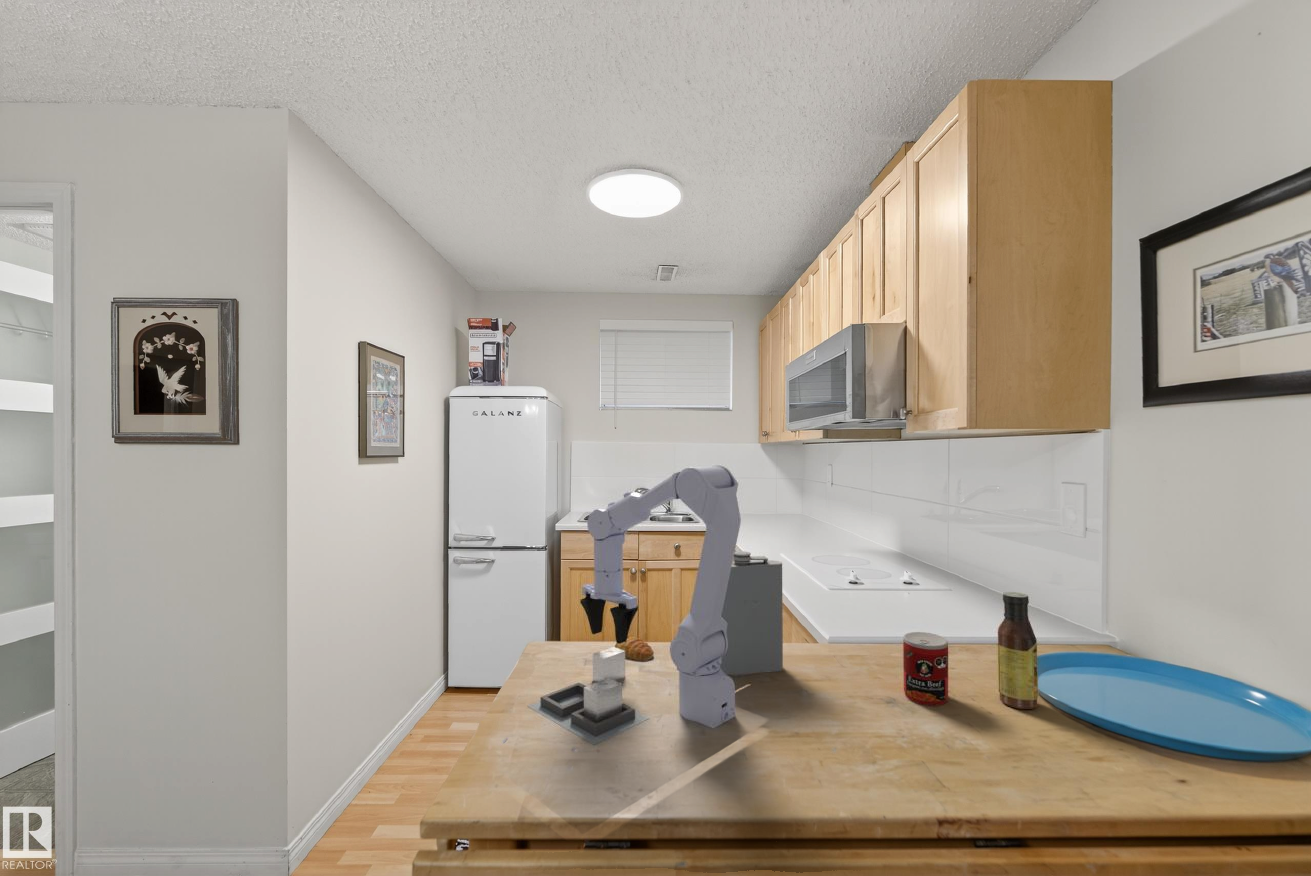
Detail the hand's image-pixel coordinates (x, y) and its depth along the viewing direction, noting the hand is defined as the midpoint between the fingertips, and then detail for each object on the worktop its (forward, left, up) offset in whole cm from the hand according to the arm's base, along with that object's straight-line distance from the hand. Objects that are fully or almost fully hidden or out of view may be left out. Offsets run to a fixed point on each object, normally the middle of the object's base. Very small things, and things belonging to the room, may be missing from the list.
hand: (608, 637), depth 117 cm
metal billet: (0, 0, -9) cm, 9 cm away
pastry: (+8, -14, -10) cm, 19 cm away
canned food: (-47, -38, -10) cm, 61 cm away
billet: (-13, +12, -8) cm, 19 cm away
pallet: (-8, +12, -9) cm, 17 cm away
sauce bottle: (-60, -47, -10) cm, 77 cm away
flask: (-15, -24, -10) cm, 30 cm away
